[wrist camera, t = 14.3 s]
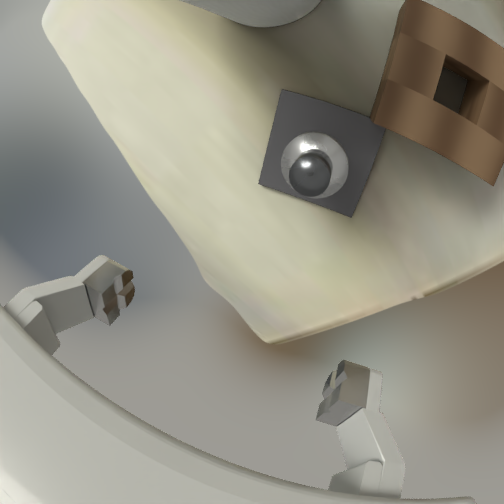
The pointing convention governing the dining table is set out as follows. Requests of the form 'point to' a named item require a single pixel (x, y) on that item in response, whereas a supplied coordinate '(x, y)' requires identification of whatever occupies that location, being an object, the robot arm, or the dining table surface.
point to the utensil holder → (258, 10)
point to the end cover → (315, 164)
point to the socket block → (425, 83)
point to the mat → (335, 124)
